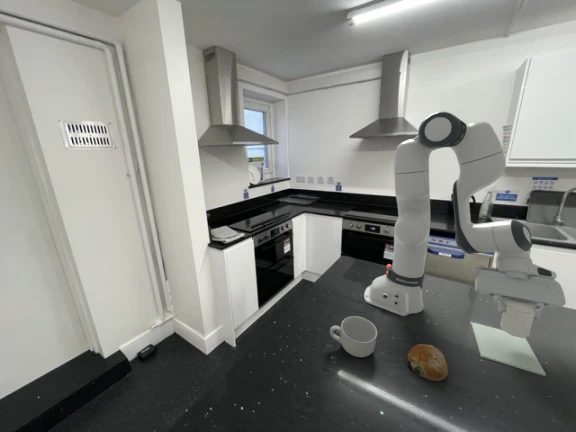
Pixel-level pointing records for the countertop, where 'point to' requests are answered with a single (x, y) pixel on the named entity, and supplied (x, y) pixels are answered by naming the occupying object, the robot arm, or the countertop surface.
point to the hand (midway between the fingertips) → (518, 314)
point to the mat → (506, 348)
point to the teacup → (356, 336)
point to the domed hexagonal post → (517, 318)
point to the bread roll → (427, 362)
